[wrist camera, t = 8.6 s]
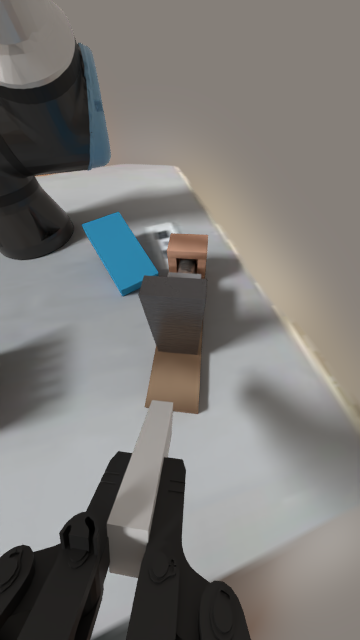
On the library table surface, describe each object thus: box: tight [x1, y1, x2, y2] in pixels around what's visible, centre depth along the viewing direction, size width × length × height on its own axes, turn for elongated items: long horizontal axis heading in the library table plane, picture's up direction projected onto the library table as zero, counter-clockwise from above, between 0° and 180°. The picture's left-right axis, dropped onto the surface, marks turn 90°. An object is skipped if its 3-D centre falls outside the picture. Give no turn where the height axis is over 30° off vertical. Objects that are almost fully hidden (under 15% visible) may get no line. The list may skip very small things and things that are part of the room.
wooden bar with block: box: [145, 233, 208, 414], centre depth 24 cm, size 24×6×7 cm, turn 174°
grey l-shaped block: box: [139, 258, 207, 355], centre depth 22 cm, size 16×5×12 cm, turn 174°
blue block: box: [82, 212, 158, 296], centre depth 34 cm, size 7×7×18 cm
